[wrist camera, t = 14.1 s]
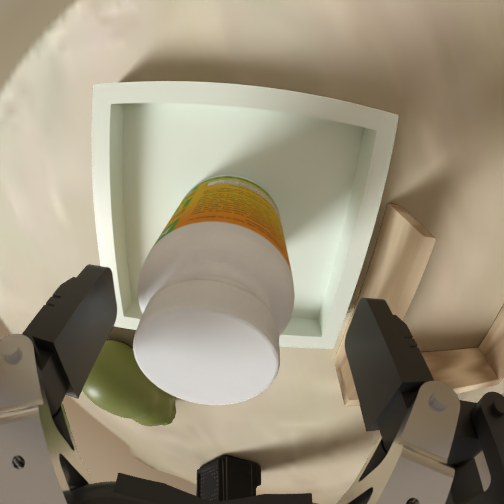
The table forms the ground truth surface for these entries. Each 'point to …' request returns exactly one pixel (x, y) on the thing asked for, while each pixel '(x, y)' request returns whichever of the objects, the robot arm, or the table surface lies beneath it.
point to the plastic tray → (249, 166)
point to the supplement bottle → (216, 295)
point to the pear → (127, 388)
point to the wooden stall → (399, 299)
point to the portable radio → (228, 479)
